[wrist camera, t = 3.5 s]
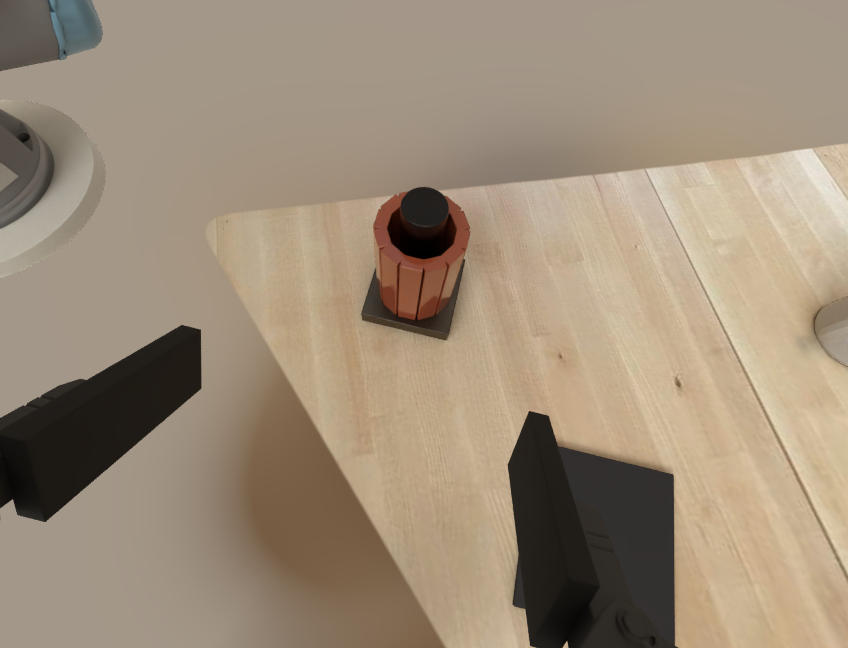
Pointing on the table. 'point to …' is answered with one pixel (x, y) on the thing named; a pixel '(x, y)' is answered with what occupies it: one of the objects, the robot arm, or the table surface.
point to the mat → (629, 528)
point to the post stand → (421, 240)
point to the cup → (834, 329)
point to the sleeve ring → (417, 264)
